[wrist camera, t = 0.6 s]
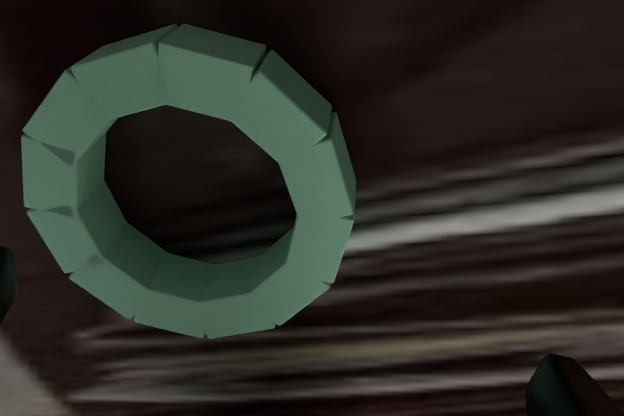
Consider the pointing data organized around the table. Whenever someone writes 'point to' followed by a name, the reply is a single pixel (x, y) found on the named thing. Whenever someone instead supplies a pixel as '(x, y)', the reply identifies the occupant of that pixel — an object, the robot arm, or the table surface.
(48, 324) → the table surface
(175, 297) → the ring
